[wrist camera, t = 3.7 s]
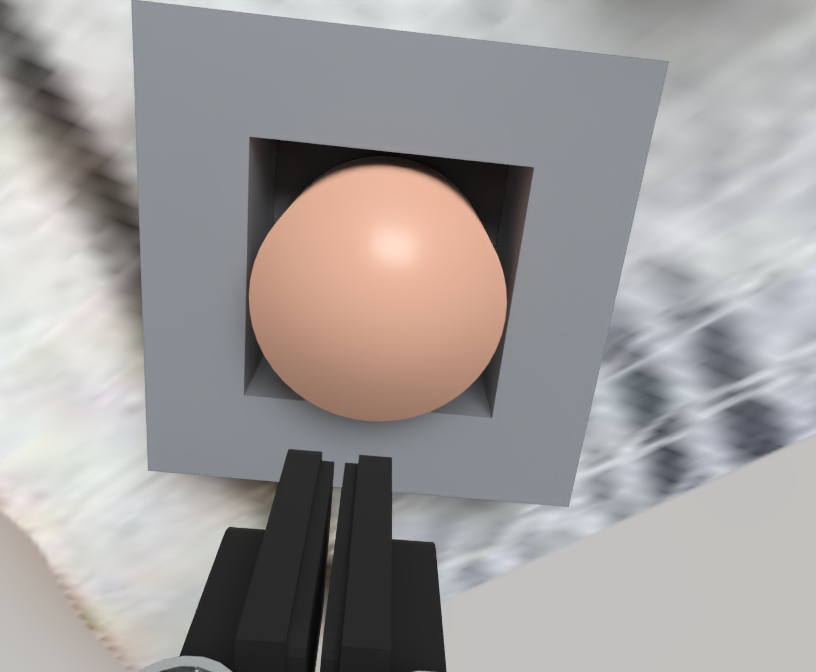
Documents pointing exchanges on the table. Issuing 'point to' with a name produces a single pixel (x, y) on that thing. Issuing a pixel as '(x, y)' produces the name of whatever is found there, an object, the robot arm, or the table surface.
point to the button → (378, 291)
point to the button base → (394, 132)
